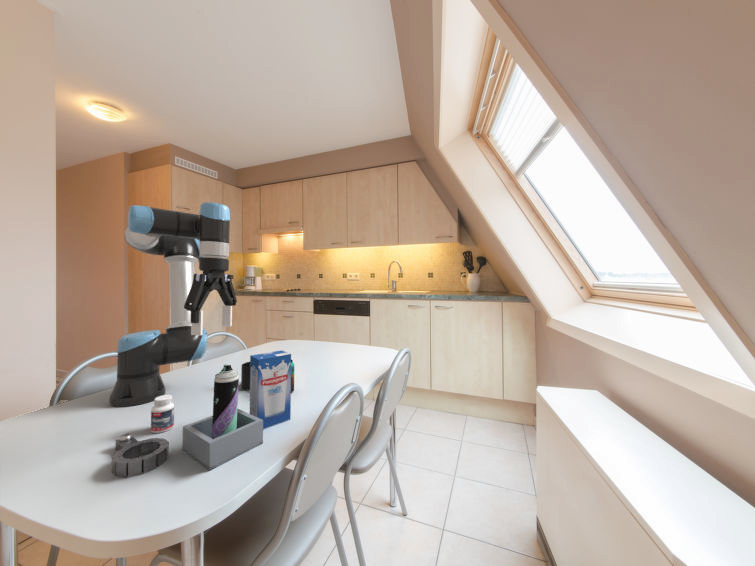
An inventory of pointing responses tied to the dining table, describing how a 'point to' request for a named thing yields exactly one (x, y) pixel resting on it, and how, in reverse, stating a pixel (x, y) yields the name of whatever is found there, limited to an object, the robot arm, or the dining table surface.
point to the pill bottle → (162, 414)
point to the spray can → (225, 402)
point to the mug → (245, 376)
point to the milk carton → (270, 387)
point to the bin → (221, 440)
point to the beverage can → (292, 376)
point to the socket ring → (138, 455)
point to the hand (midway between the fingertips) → (213, 330)
